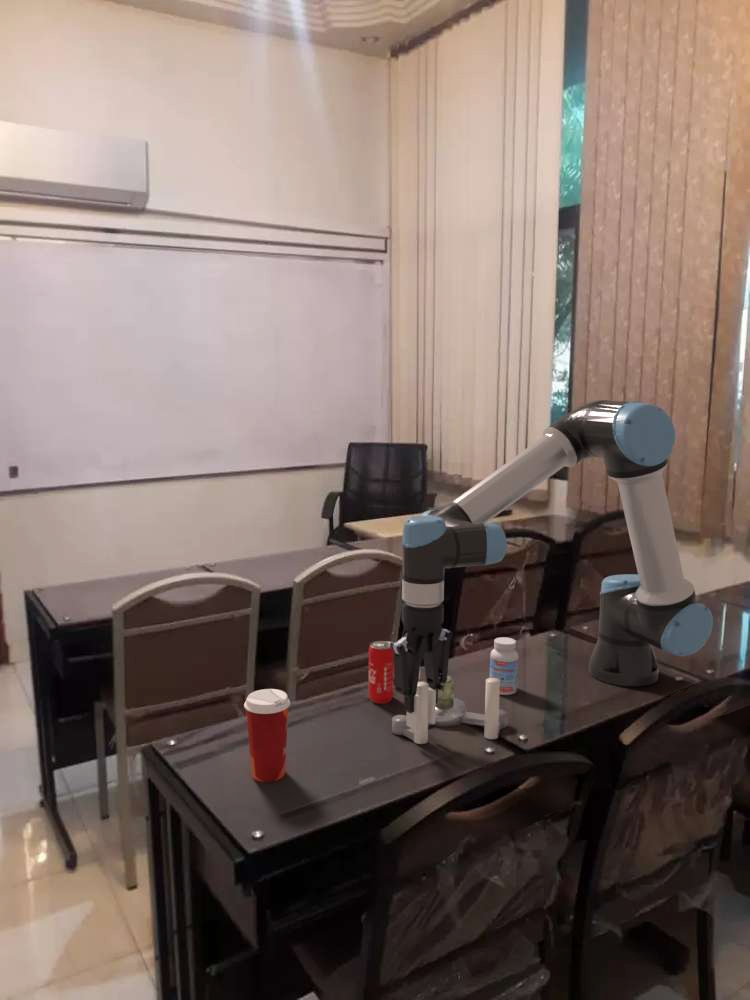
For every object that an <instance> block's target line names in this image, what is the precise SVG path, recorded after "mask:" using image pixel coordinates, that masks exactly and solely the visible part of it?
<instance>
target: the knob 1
mask: <svg viewBox="0 0 750 1000" xmlns="http://www.w3.org/2000/svg"><path fill="white" fill-rule="evenodd" d="M428 691H429V684H428V683H426V682H418V684H417V691H416V694H417V695H419V696H420V704H419V730H414V729H412V728H410V727H408V726H407V725H406V714H397V715H393V717H391V732H392V733H393V734H394V735H398V736H405V737H406V738H408V739H409V740H411V741H413V742H414V743H415V744H418V745H424V744H427V743H428V741H429V740H428V739H429V738H428V737H429V733H428V732H429V726H428Z"/></svg>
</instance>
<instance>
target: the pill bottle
mask: <svg viewBox="0 0 750 1000" xmlns="http://www.w3.org/2000/svg"><path fill="white" fill-rule="evenodd" d="M493 647H494V648H493V649H492V650H491V652H490V654H489V655H490V656H489V678H496V679H499V680H500V694H499V696H501V695H502V696H510V695H513V694H515V693H517V690H518V678H519V676H518V675H519V660H520V659H519V656H520V655H519V653H518V651H517V650H516V648H517V641H516V640H515V639H514V638H511V637H507V636H506V637H504V636H502V637H501V636H500V637H496V638H495V639H494V641H493Z"/></svg>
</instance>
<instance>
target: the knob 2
mask: <svg viewBox="0 0 750 1000" xmlns="http://www.w3.org/2000/svg"><path fill="white" fill-rule="evenodd" d="M484 700H485V701H484V715H485V725H484V726H483V727H484V729H483V730H484V732H483V737H484V738H486V739H488V740H496V739H498V738H499V733H500V730H501V729H502V730H503V729H505V728H507V726H508V712H507V711H506V710H504V709H500V680H499V679H496V678H490V677H488V678H486V679H485V695H484Z"/></svg>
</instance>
